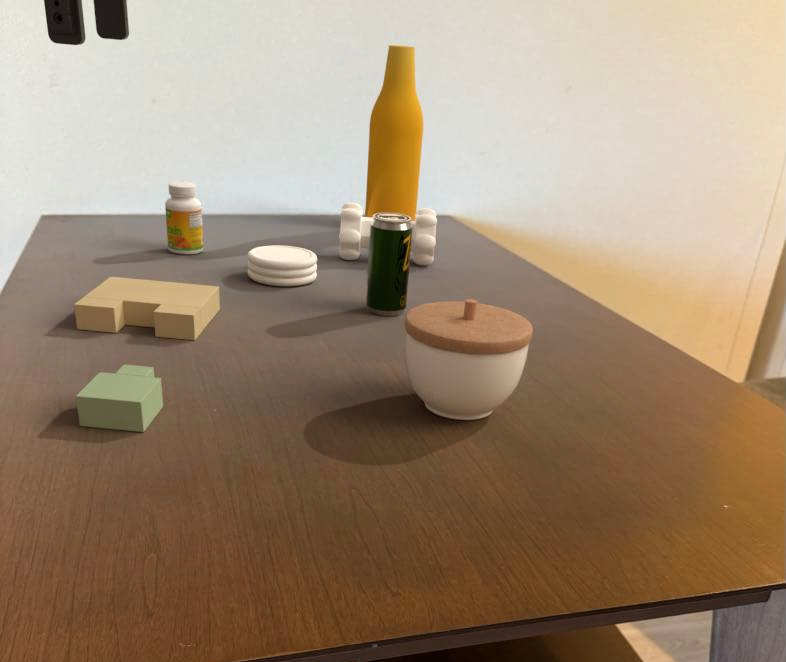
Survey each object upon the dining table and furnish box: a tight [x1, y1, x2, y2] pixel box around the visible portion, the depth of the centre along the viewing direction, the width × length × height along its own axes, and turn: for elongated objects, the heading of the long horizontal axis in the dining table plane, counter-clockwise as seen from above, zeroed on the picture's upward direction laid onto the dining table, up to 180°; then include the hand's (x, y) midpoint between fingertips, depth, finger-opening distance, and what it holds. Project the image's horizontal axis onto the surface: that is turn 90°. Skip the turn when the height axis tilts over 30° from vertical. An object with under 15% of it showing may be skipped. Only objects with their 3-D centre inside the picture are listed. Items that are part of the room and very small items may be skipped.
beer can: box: [365, 213, 413, 317], centre depth 111 cm, size 5×5×12 cm
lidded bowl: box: [404, 298, 534, 421], centre depth 86 cm, size 13×13×11 cm
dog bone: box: [338, 202, 438, 267], centre depth 134 cm, size 15×9×8 cm, turn 90°
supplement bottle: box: [164, 181, 204, 256], centre depth 130 cm, size 5×5×10 cm
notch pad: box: [73, 276, 221, 341], centre depth 104 cm, size 14×12×3 cm
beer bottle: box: [364, 44, 424, 221], centre depth 146 cm, size 9×9×29 cm
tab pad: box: [75, 364, 164, 433], centre depth 81 cm, size 8×6×3 cm
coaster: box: [246, 244, 318, 287], centre depth 123 cm, size 10×10×4 cm
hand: (91, 41), depth 59 cm, fingers open, 8 cm apart
